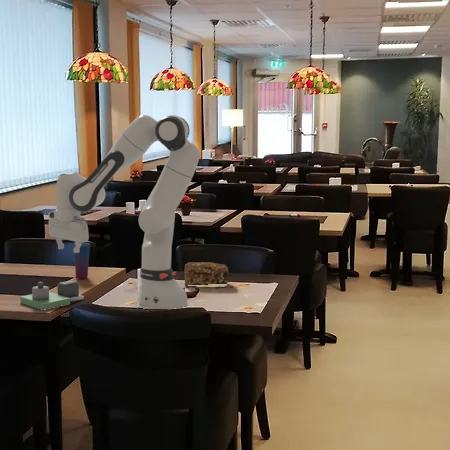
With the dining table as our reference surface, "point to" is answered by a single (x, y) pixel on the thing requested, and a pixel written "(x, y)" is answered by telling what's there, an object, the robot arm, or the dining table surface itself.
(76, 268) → the cup
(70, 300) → the bracket
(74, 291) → the grey piece
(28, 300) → the deck
